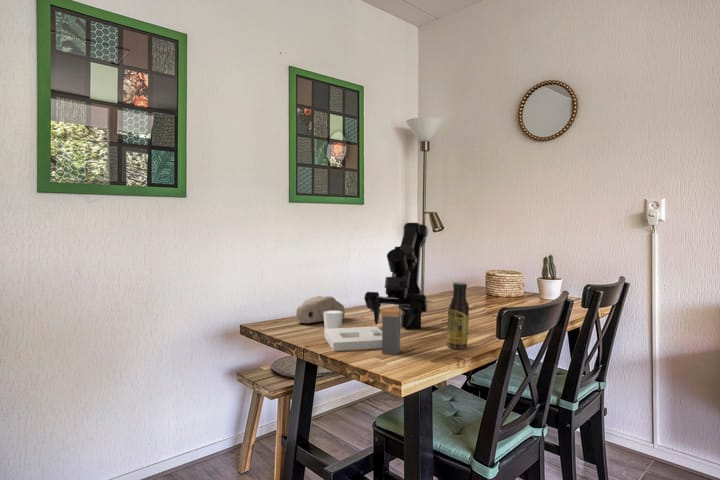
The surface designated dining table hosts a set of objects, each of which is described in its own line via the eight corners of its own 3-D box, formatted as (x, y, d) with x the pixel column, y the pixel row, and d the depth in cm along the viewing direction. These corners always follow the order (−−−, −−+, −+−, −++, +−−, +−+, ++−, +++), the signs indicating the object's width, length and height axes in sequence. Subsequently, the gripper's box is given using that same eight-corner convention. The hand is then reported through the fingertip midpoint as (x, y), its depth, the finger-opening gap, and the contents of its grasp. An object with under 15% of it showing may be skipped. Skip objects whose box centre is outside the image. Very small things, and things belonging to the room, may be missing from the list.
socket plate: (376, 333, 155) (376, 324, 155) (391, 347, 138) (391, 336, 138) (324, 336, 151) (324, 326, 151) (333, 351, 134) (333, 340, 133)
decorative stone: (301, 327, 165) (301, 300, 164) (291, 323, 171) (291, 297, 170) (347, 320, 177) (347, 295, 176) (336, 317, 183) (336, 292, 182)
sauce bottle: (442, 347, 138) (443, 282, 138) (454, 343, 143) (455, 281, 142) (461, 351, 134) (462, 284, 133) (472, 347, 138) (473, 283, 137)
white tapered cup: (340, 334, 154) (340, 314, 154) (320, 333, 155) (320, 313, 155) (344, 329, 160) (344, 310, 160) (326, 328, 162) (326, 309, 162)
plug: (384, 349, 136) (385, 308, 135) (401, 350, 134) (401, 308, 134) (380, 353, 131) (381, 311, 131) (397, 355, 130) (398, 312, 129)
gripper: (366, 265, 140) (355, 307, 129) (426, 267, 134) (419, 310, 124) (372, 287, 147) (362, 328, 137) (429, 290, 142) (423, 333, 132)
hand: (391, 324), depth 132 cm, fingers open, 9 cm apart
